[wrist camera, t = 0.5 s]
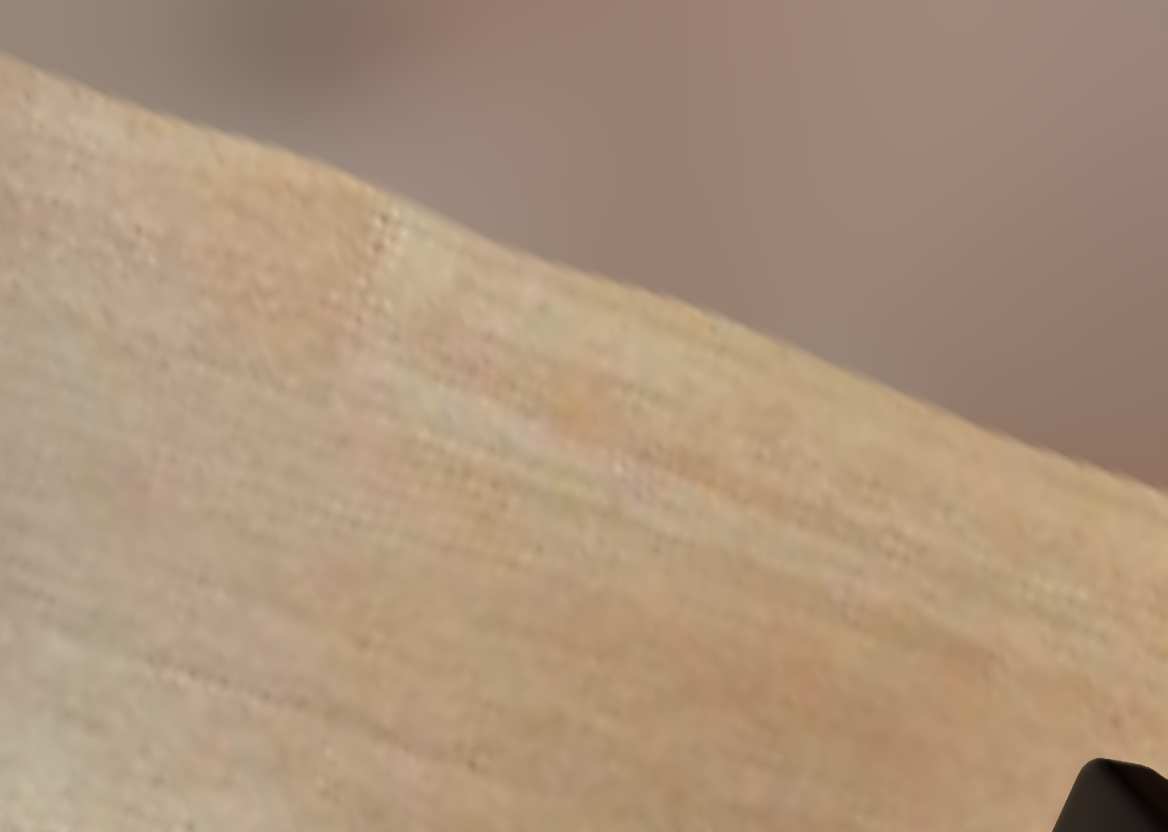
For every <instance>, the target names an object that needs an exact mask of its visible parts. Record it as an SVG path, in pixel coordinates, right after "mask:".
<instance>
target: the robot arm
mask: <svg viewBox="0 0 1168 832" xmlns="http://www.w3.org/2000/svg"><path fill="white" fill-rule="evenodd" d="M1052 832H1168V780H1167V779H1166V778H1164V777H1163V776H1161V775H1160V774H1159V773H1157V772H1156V771H1154V770H1153V769H1151V768H1149V767H1146V766H1143V765H1139V764H1134V763H1128V762H1122V761H1116V760H1111V759H1104V758H1096V759H1094V760H1091V761H1089V762H1088V763H1086V764H1085V765H1084V766H1083V767H1082V769H1081V771H1080V773H1079V774H1078V776H1077V778H1076V781H1075V783H1074V785H1073V787H1072V789H1071V792H1070V794H1069V796H1068V798H1067V800H1066V802H1065V805H1064V807H1063V809H1062V811H1061V813H1060V816H1059V818H1058V820H1057V822H1056V824H1055V827H1054V829H1053V831H1052Z"/></svg>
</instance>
